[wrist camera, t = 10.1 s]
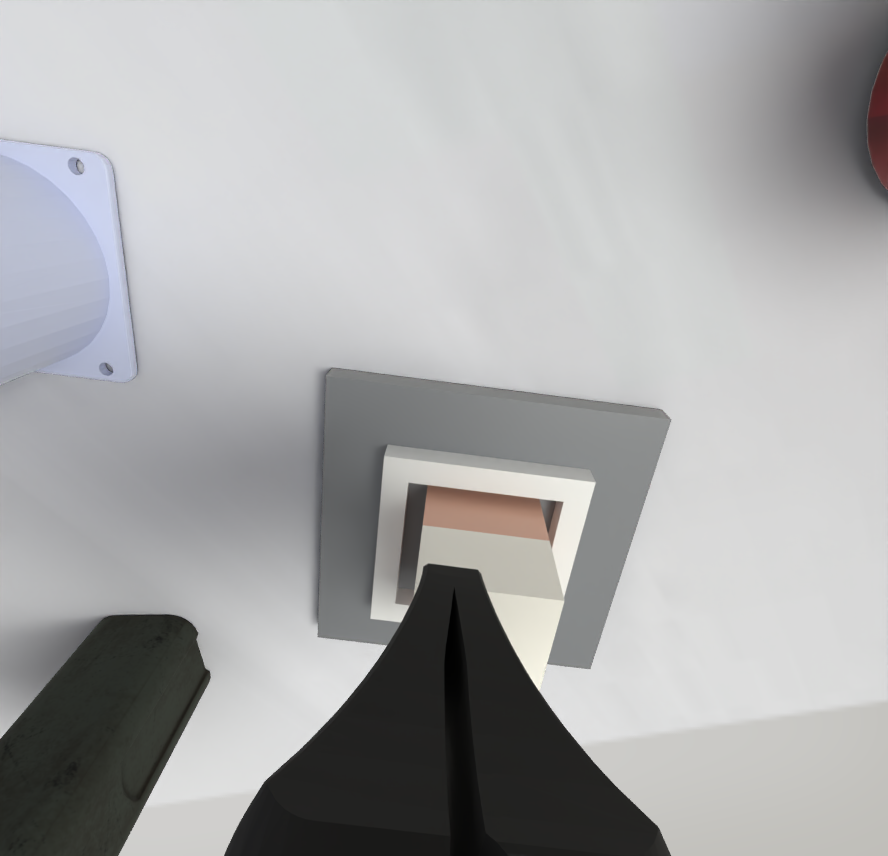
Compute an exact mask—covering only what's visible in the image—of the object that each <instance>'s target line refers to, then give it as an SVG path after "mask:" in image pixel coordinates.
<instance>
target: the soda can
mask: <svg viewBox="0 0 888 856" xmlns="http://www.w3.org/2000/svg"><path fill="white" fill-rule="evenodd" d="M867 146H868V150H869V154H870V159H871V163H872V166H873V168H874V170H875V172H876V174H877V176H878V178H879V180H880V182H881V184H882V185H883V186H884V187H885V188H886V189H887V191H888V51H887V53H886V55H885V57H884V59H883V60H882V62H881V65H880V67H879V70H878V73H877V76H876V79H875V82H874V85H873V88H872V91H871V96H870V101H869V107H868V113H867Z"/></svg>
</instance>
